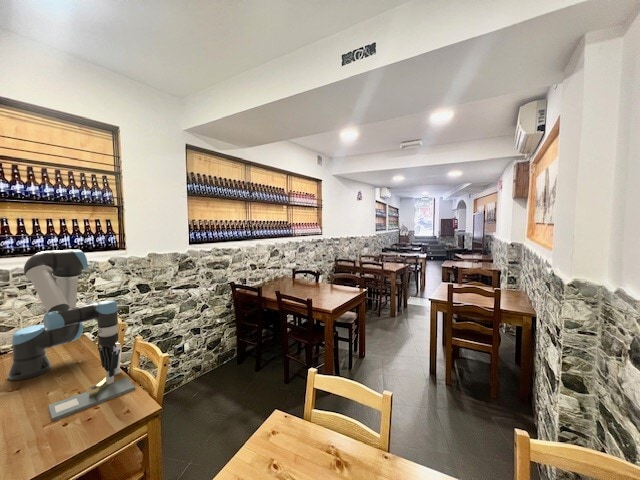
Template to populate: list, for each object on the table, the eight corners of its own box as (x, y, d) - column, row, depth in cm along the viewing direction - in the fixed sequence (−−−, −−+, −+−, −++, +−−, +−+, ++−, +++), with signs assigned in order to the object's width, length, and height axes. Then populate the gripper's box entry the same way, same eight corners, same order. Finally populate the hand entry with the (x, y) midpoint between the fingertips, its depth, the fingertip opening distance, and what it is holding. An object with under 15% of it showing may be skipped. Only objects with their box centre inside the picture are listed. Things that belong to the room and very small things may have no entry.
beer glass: (112, 378, 137) (112, 349, 136) (101, 376, 138) (100, 347, 137) (125, 371, 144) (124, 343, 143) (114, 369, 145) (113, 342, 144)
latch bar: (86, 397, 119) (86, 389, 119) (107, 379, 132) (107, 372, 132) (95, 396, 119) (95, 388, 119) (115, 379, 133) (115, 372, 133)
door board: (48, 407, 114) (48, 404, 114) (127, 379, 135) (127, 377, 135) (52, 421, 106) (51, 418, 106) (134, 389, 128) (134, 386, 128)
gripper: (90, 335, 126) (92, 383, 127) (108, 339, 121) (110, 390, 122) (108, 329, 133) (110, 375, 134) (125, 333, 128) (127, 381, 129)
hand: (110, 382), depth 128 cm, fingers closed
